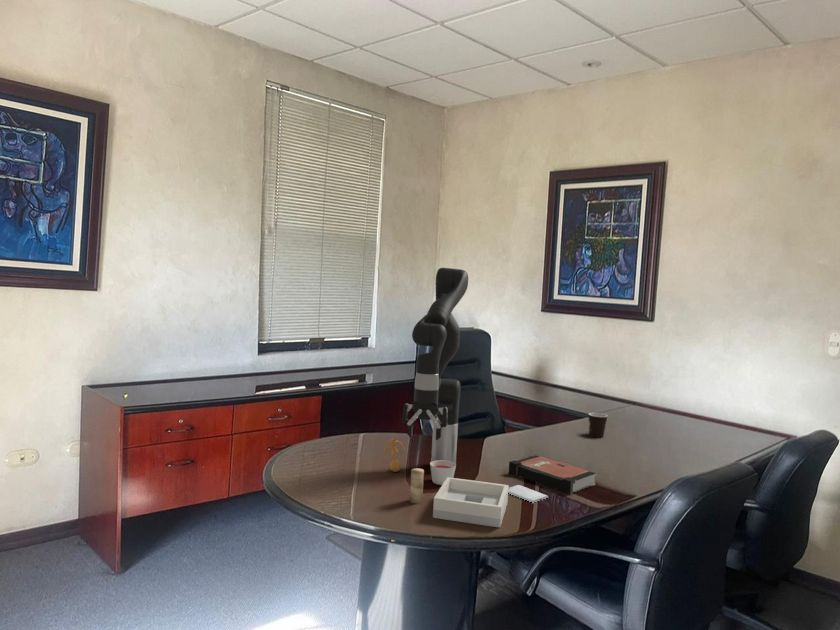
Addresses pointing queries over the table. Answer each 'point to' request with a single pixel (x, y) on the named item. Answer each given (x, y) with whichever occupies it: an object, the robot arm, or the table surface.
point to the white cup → (442, 471)
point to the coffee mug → (597, 424)
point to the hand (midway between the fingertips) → (423, 438)
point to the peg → (416, 485)
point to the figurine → (394, 465)
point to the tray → (471, 502)
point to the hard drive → (526, 493)
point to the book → (553, 473)
